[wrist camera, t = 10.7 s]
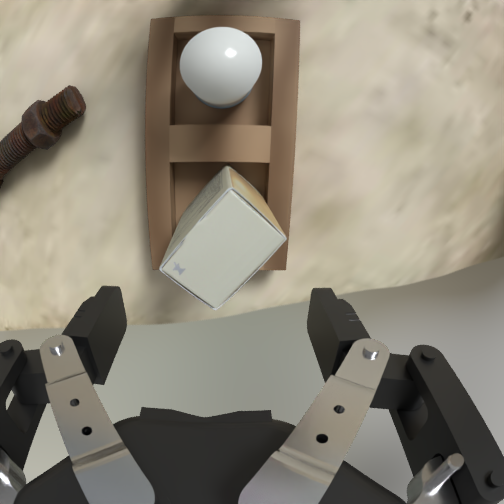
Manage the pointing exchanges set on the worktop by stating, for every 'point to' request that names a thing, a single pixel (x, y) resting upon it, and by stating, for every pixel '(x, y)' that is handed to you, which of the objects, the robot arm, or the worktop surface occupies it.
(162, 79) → the holder
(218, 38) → the ceramic tube
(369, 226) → the worktop surface
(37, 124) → the bolt
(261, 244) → the skincare box
